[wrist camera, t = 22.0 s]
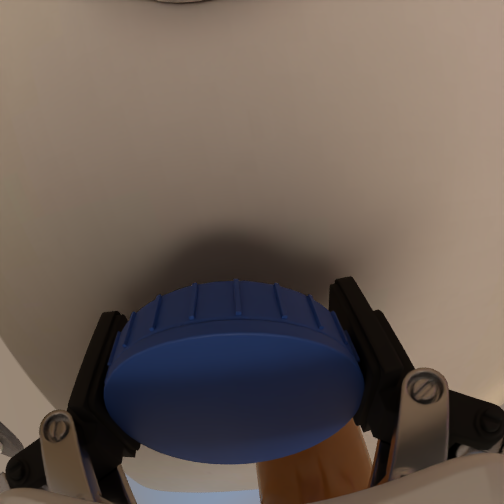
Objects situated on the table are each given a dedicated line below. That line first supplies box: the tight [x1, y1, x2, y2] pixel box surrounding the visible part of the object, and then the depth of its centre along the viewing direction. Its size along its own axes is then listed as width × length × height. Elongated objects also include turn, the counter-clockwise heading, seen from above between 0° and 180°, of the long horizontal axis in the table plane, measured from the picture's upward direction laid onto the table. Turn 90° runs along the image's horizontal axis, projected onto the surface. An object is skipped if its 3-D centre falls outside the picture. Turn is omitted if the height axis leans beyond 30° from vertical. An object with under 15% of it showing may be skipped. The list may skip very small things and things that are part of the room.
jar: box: [256, 418, 373, 504], centre depth 13 cm, size 7×7×9 cm
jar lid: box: [104, 279, 365, 464], centre depth 8 cm, size 7×7×2 cm
